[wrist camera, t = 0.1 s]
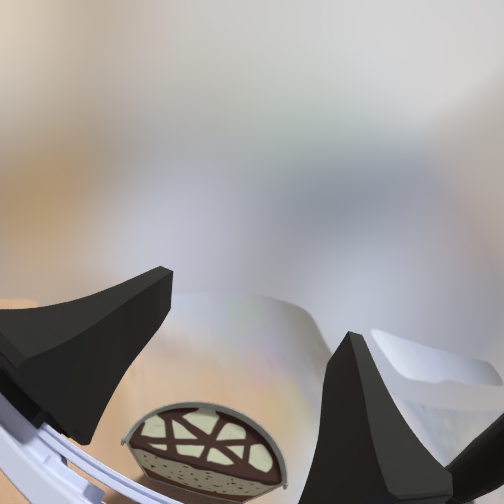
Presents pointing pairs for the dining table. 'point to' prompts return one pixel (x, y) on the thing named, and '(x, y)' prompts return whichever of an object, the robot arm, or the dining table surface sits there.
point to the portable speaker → (479, 465)
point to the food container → (207, 451)
